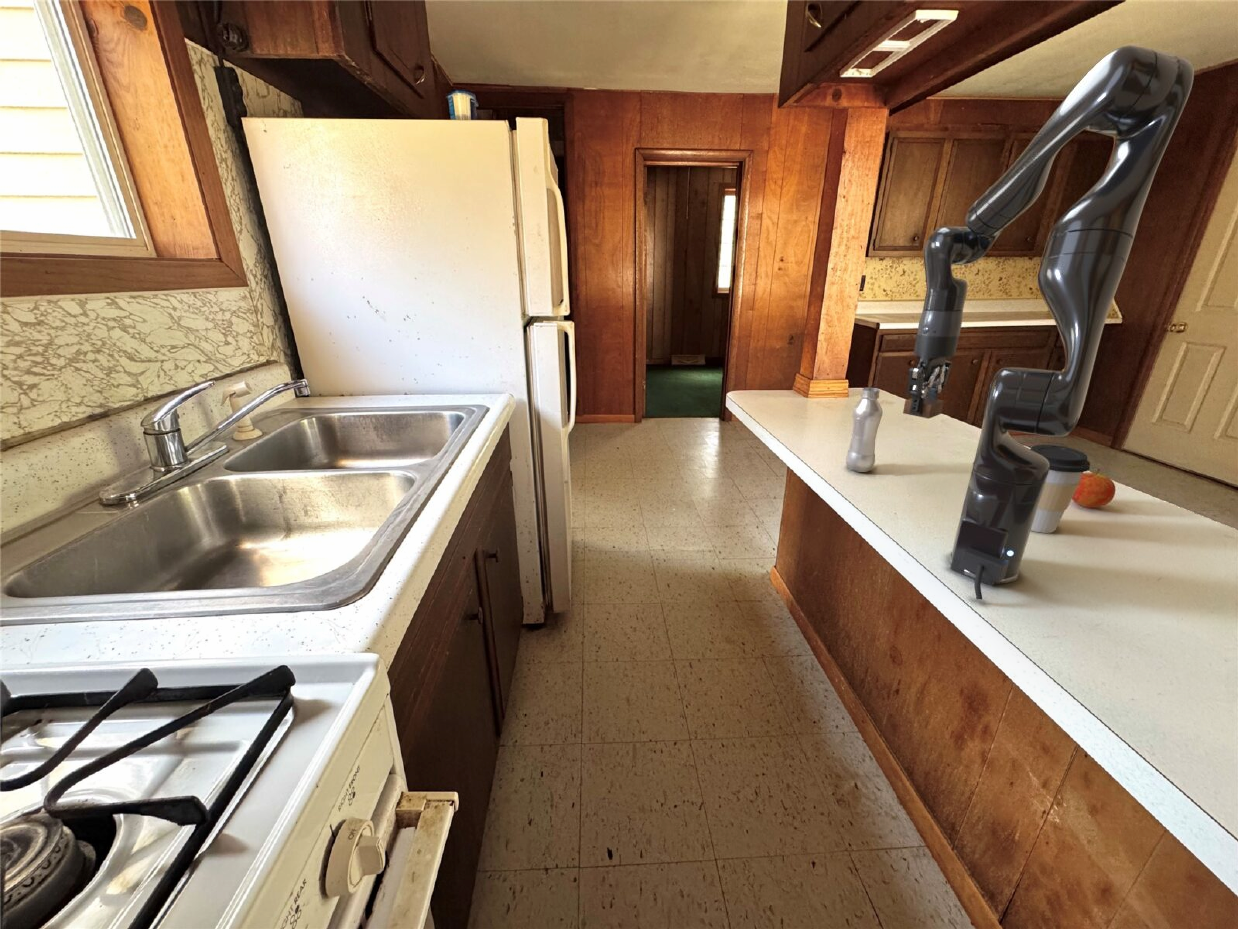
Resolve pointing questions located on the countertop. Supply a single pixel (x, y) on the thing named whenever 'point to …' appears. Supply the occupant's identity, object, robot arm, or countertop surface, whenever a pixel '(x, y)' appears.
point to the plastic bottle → (864, 431)
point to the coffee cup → (1058, 484)
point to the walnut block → (926, 407)
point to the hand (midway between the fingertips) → (922, 411)
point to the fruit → (1094, 490)
